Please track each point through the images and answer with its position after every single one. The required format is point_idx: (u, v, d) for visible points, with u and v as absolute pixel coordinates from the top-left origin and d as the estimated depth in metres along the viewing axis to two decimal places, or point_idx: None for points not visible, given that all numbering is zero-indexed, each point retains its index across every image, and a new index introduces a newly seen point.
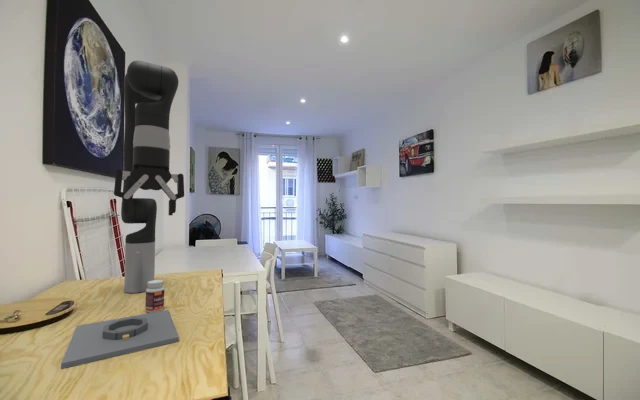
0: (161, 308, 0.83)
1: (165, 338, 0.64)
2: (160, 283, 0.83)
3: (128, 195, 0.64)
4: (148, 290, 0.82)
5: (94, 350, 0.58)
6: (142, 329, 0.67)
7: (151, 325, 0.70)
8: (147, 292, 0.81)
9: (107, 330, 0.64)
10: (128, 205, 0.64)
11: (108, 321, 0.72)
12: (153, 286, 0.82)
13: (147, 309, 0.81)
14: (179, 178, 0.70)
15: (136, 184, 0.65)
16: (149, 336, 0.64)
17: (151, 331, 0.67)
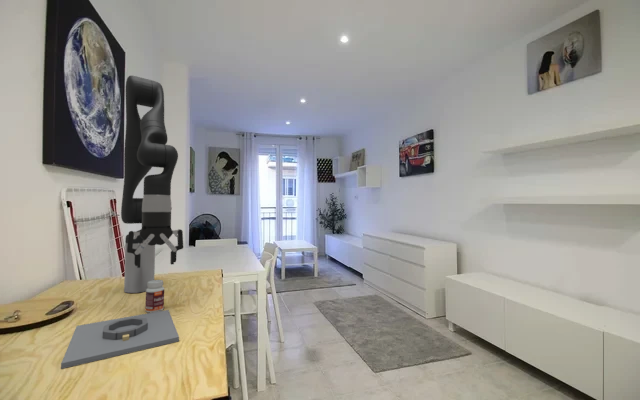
0: (161, 308, 0.83)
1: (165, 338, 0.64)
2: (160, 283, 0.83)
3: (138, 251, 0.80)
4: (148, 290, 0.82)
5: (94, 350, 0.58)
6: (142, 329, 0.67)
7: (151, 325, 0.70)
8: (147, 292, 0.81)
9: (107, 330, 0.64)
10: (138, 259, 0.80)
11: (108, 321, 0.72)
12: (153, 286, 0.82)
13: (147, 309, 0.81)
14: (179, 233, 0.86)
15: (144, 242, 0.81)
16: (149, 336, 0.64)
17: (151, 331, 0.67)
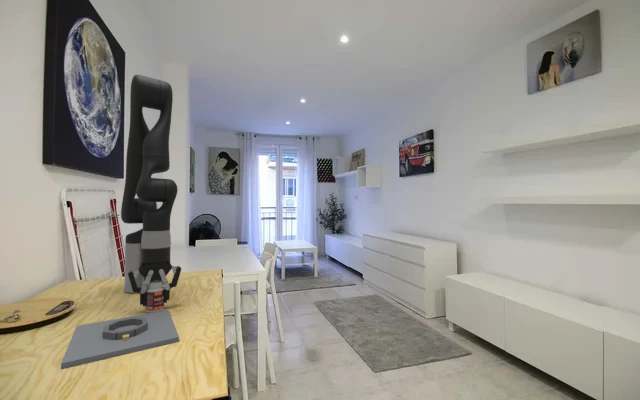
0: (161, 308, 0.83)
1: (165, 338, 0.64)
2: (160, 283, 0.83)
3: (144, 290, 0.81)
4: (148, 290, 0.82)
5: (94, 350, 0.58)
6: (142, 329, 0.67)
7: (151, 325, 0.70)
8: (147, 292, 0.81)
9: (107, 330, 0.64)
10: (144, 298, 0.81)
11: (108, 321, 0.72)
12: (153, 286, 0.82)
13: (147, 309, 0.81)
14: (177, 271, 0.86)
15: (146, 280, 0.81)
16: (149, 336, 0.64)
17: (151, 331, 0.67)
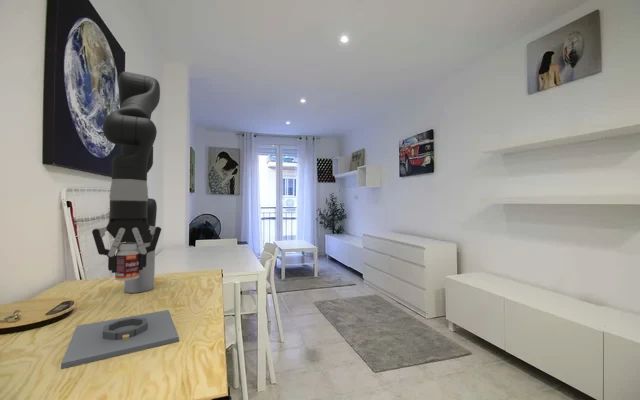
0: (135, 276, 0.67)
1: (165, 338, 0.64)
2: (134, 245, 0.67)
3: (113, 253, 0.65)
4: (118, 253, 0.66)
5: (94, 350, 0.58)
6: (142, 329, 0.67)
7: (151, 325, 0.70)
8: (117, 256, 0.65)
9: (107, 330, 0.64)
10: (113, 262, 0.65)
11: (108, 321, 0.72)
12: (125, 248, 0.66)
13: (117, 276, 0.65)
14: (156, 231, 0.70)
15: (116, 240, 0.65)
16: (149, 336, 0.64)
17: (151, 331, 0.67)
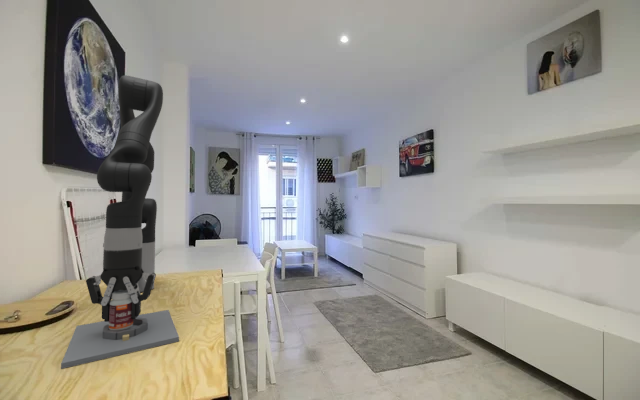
0: (126, 326, 0.66)
1: (165, 338, 0.64)
2: (125, 294, 0.66)
3: (105, 302, 0.65)
4: (111, 302, 0.65)
5: (94, 350, 0.58)
6: (142, 329, 0.67)
7: (151, 325, 0.70)
8: None
9: (107, 330, 0.64)
10: (105, 312, 0.65)
11: None
12: (116, 298, 0.65)
13: (109, 326, 0.65)
14: (148, 280, 0.68)
15: (107, 289, 0.65)
16: (149, 336, 0.64)
17: (151, 331, 0.67)
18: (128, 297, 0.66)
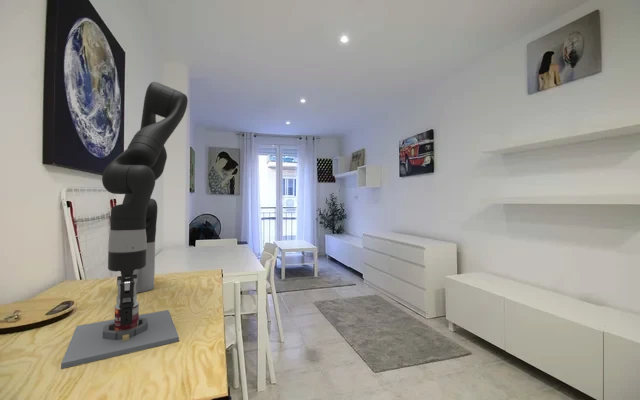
0: None
1: (165, 338, 0.64)
2: (119, 299, 0.65)
3: None
4: None
5: (94, 350, 0.58)
6: (142, 329, 0.67)
7: (151, 325, 0.70)
8: None
9: (107, 330, 0.64)
10: None
11: (108, 321, 0.72)
12: None
13: None
14: (120, 287, 0.62)
15: None
16: (149, 336, 0.64)
17: (151, 331, 0.67)
18: None
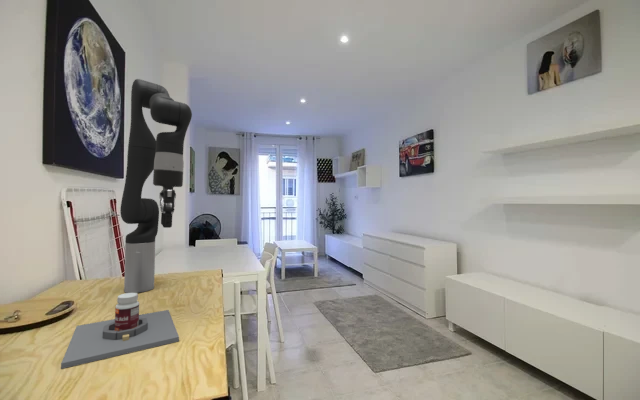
0: None
1: (165, 338, 0.64)
2: (119, 299, 0.66)
3: (161, 209, 0.85)
4: None
5: (94, 350, 0.58)
6: (142, 329, 0.67)
7: (151, 325, 0.70)
8: None
9: (107, 330, 0.64)
10: (161, 216, 0.85)
11: (108, 321, 0.72)
12: None
13: None
14: (164, 193, 0.76)
15: None
16: (149, 336, 0.64)
17: (151, 331, 0.67)
18: (122, 303, 0.66)
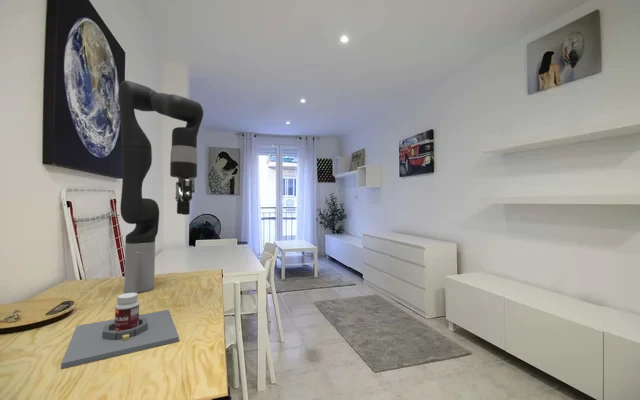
0: None
1: (165, 338, 0.64)
2: (119, 299, 0.66)
3: (176, 199, 0.91)
4: None
5: (94, 350, 0.58)
6: (142, 329, 0.67)
7: (151, 325, 0.70)
8: None
9: (107, 330, 0.64)
10: None
11: (108, 321, 0.72)
12: None
13: None
14: (182, 183, 0.83)
15: None
16: (149, 336, 0.64)
17: (151, 331, 0.67)
18: (122, 303, 0.66)
